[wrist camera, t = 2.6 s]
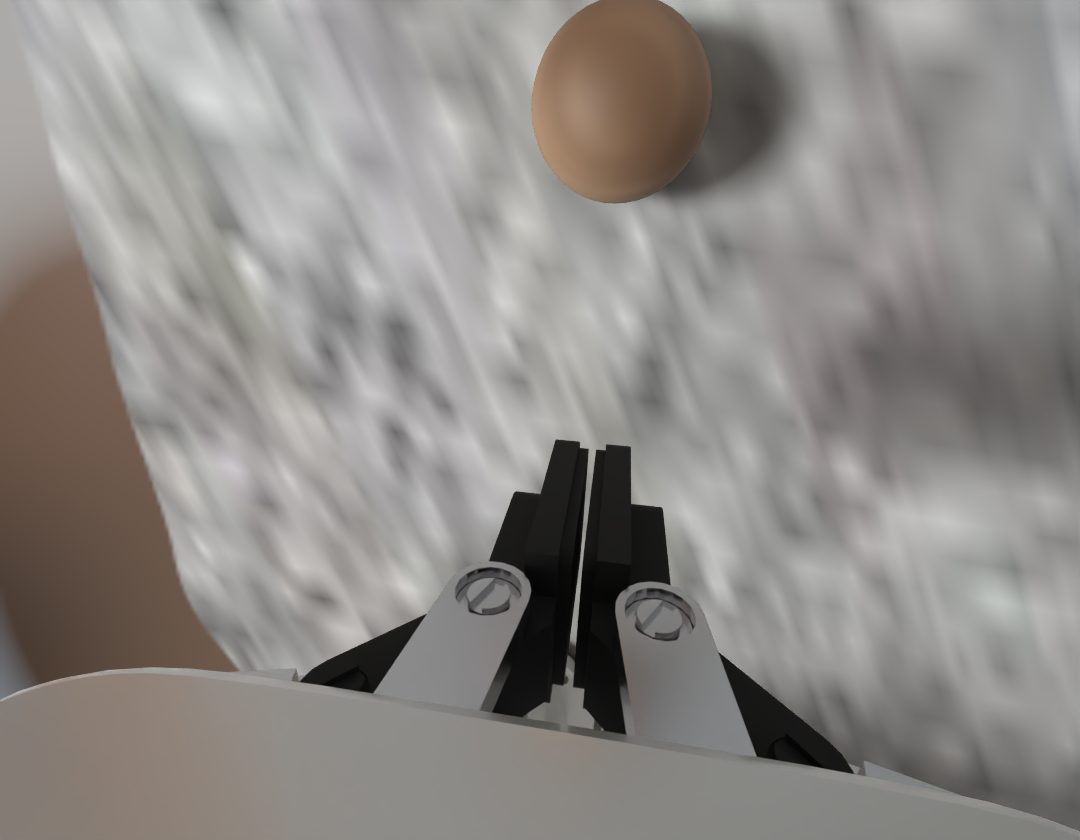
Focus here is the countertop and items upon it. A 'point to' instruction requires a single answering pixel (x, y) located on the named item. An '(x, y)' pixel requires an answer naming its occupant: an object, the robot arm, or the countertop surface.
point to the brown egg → (621, 99)
